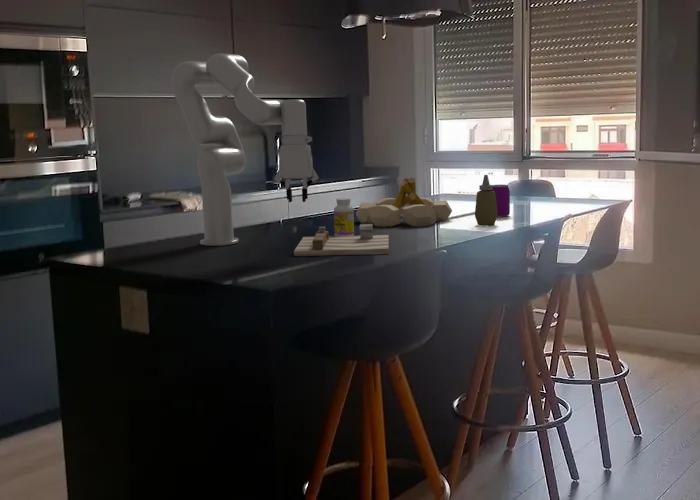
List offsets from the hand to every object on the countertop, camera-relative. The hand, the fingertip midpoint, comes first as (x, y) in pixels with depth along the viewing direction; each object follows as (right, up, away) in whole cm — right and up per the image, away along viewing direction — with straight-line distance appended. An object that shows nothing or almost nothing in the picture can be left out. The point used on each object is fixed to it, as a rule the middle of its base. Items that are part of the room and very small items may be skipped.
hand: (297, 201), depth 253 cm
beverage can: (+74, -2, +68) cm, 101 cm away
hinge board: (+14, -14, +6) cm, 21 cm away
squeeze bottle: (+65, -6, +45) cm, 79 cm away
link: (+7, -13, +3) cm, 15 cm away
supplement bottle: (+14, -10, +29) cm, 34 cm away
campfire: (+37, -4, +63) cm, 73 cm away
